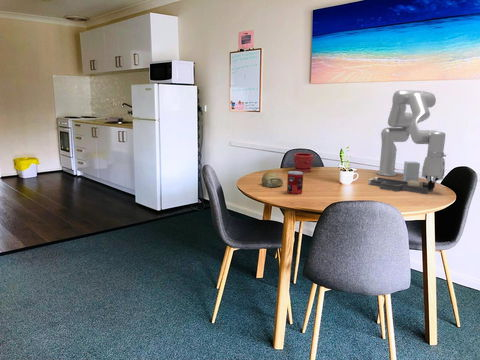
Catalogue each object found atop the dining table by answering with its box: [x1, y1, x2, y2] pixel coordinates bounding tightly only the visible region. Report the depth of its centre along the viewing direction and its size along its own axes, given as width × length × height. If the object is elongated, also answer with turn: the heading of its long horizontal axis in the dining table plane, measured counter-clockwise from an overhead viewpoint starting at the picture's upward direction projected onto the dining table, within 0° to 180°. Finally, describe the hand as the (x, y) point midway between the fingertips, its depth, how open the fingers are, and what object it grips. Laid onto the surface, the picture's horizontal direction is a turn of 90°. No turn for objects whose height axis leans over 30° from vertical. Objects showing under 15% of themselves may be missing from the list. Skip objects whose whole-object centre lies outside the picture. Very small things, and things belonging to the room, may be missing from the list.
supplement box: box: [402, 160, 421, 182], centre depth 226 cm, size 7×7×13 cm
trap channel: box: [368, 176, 434, 195], centre depth 213 cm, size 22×32×3 cm
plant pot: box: [293, 152, 314, 173], centre depth 259 cm, size 13×13×12 cm
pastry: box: [260, 170, 284, 188], centre depth 213 cm, size 14×12×8 cm
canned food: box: [286, 170, 304, 195], centre depth 195 cm, size 8×8×11 cm
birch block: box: [407, 180, 424, 187], centre depth 207 cm, size 6×6×5 cm
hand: (430, 188), depth 201 cm, fingers closed
